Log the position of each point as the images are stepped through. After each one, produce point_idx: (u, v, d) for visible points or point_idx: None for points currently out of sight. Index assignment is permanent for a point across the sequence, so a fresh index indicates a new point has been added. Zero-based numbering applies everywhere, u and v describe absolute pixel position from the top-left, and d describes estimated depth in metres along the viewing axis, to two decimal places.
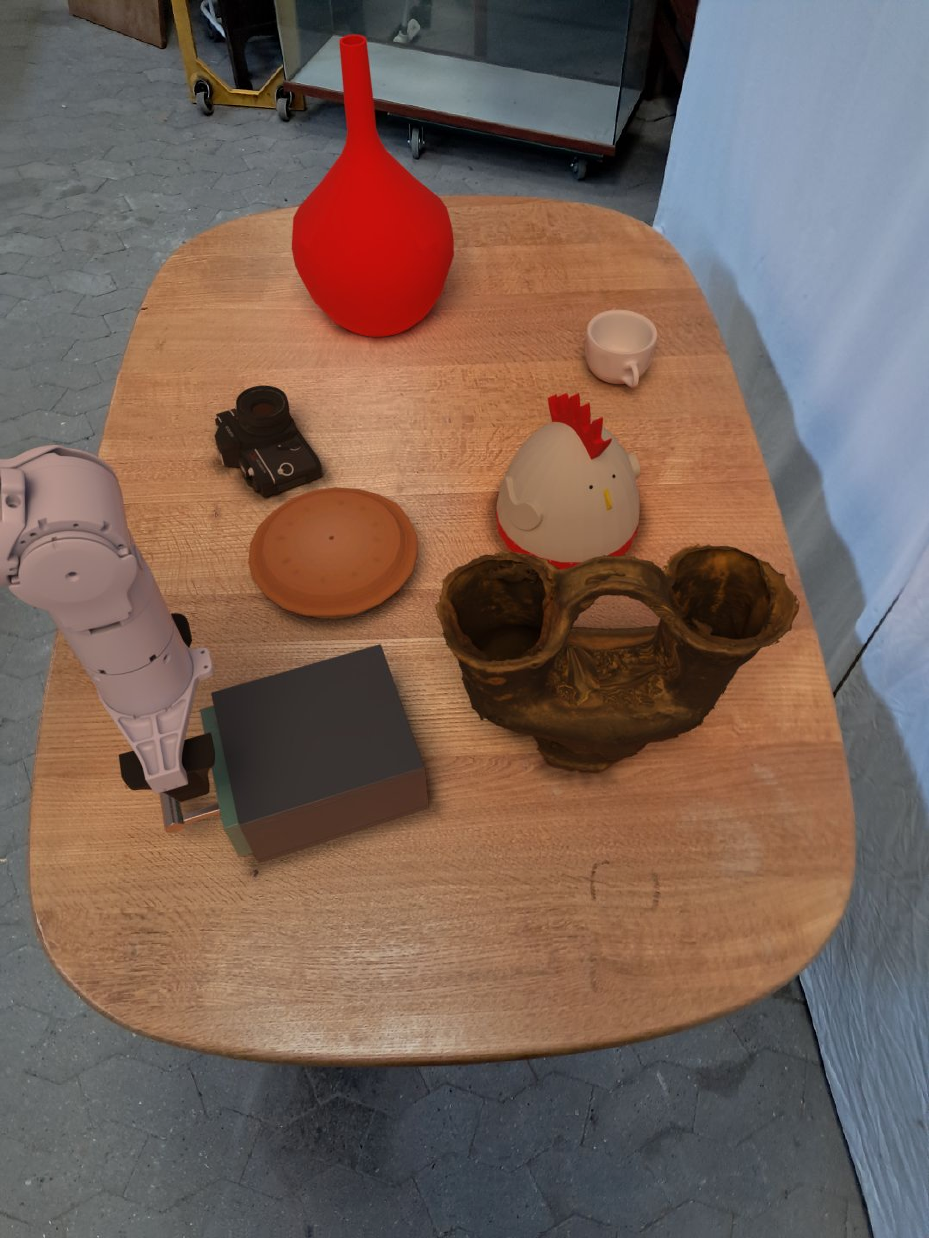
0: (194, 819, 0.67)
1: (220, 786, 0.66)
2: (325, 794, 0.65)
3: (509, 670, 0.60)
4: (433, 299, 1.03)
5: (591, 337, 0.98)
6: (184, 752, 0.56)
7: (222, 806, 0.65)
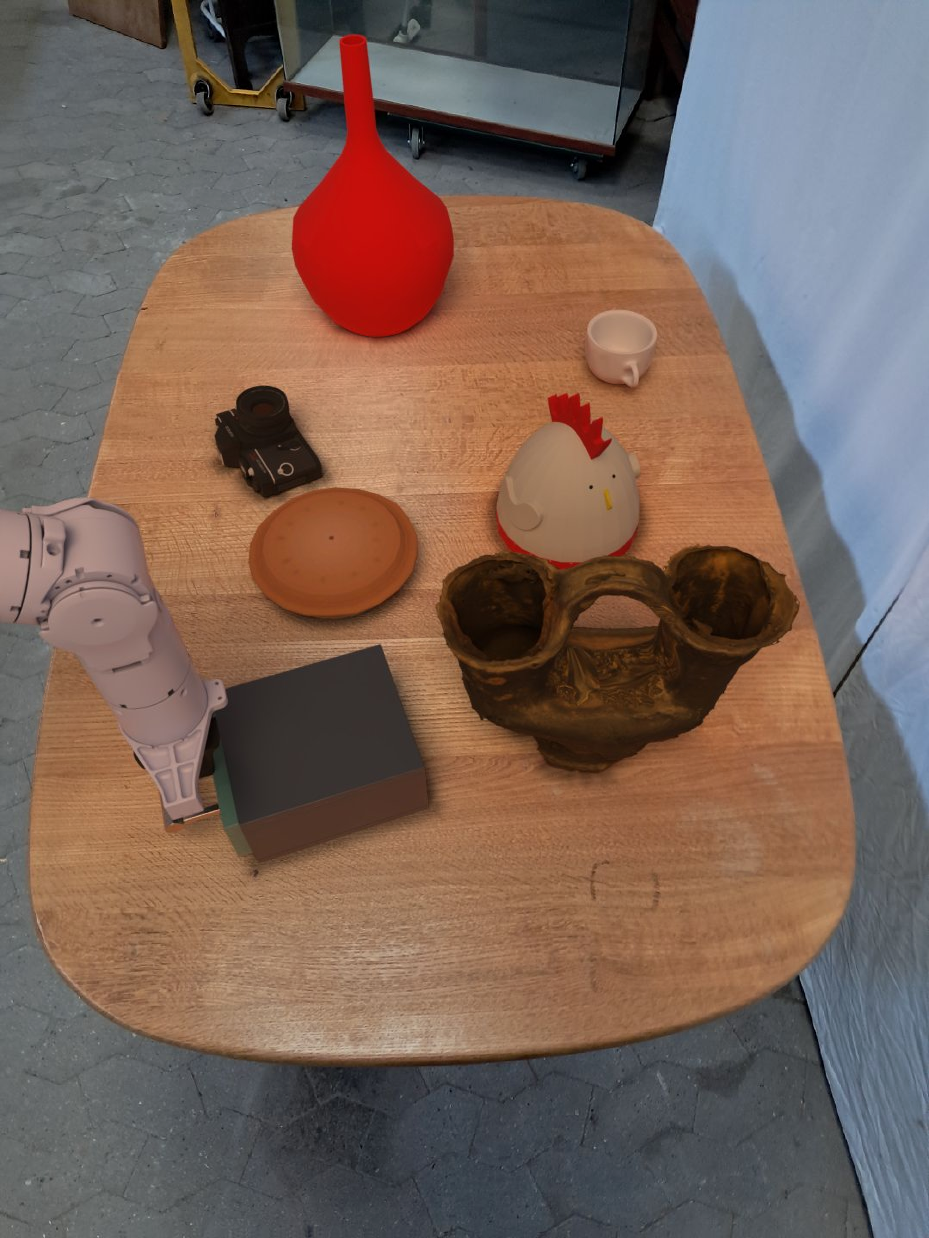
0: (194, 819, 0.67)
1: (220, 786, 0.66)
2: (325, 794, 0.65)
3: (509, 670, 0.60)
4: (433, 299, 1.03)
5: (591, 337, 0.98)
6: None
7: (222, 806, 0.65)
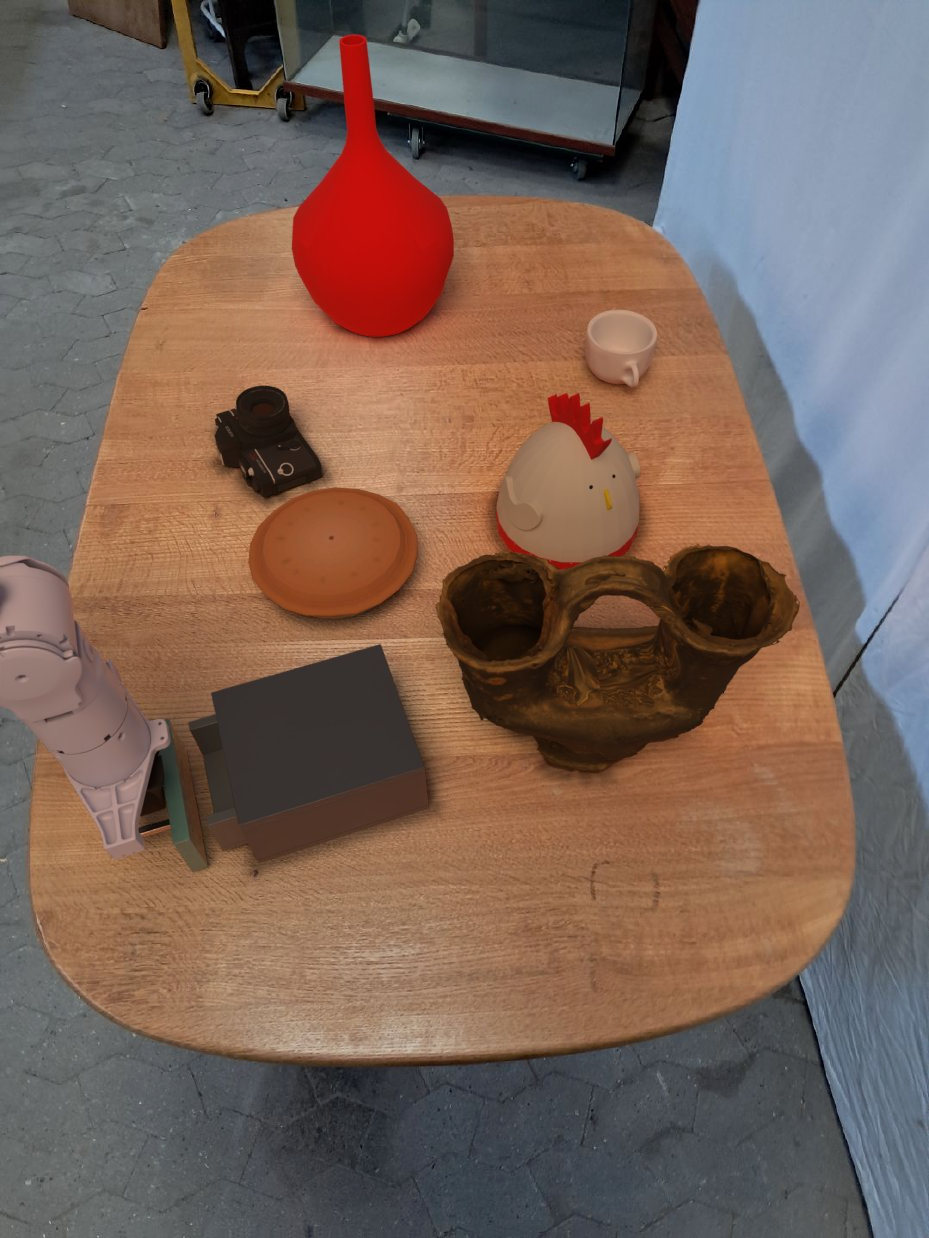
0: (146, 834, 0.66)
1: (171, 801, 0.65)
2: (325, 794, 0.65)
3: (509, 670, 0.60)
4: (433, 299, 1.03)
5: (591, 337, 0.98)
6: None
7: (172, 822, 0.64)
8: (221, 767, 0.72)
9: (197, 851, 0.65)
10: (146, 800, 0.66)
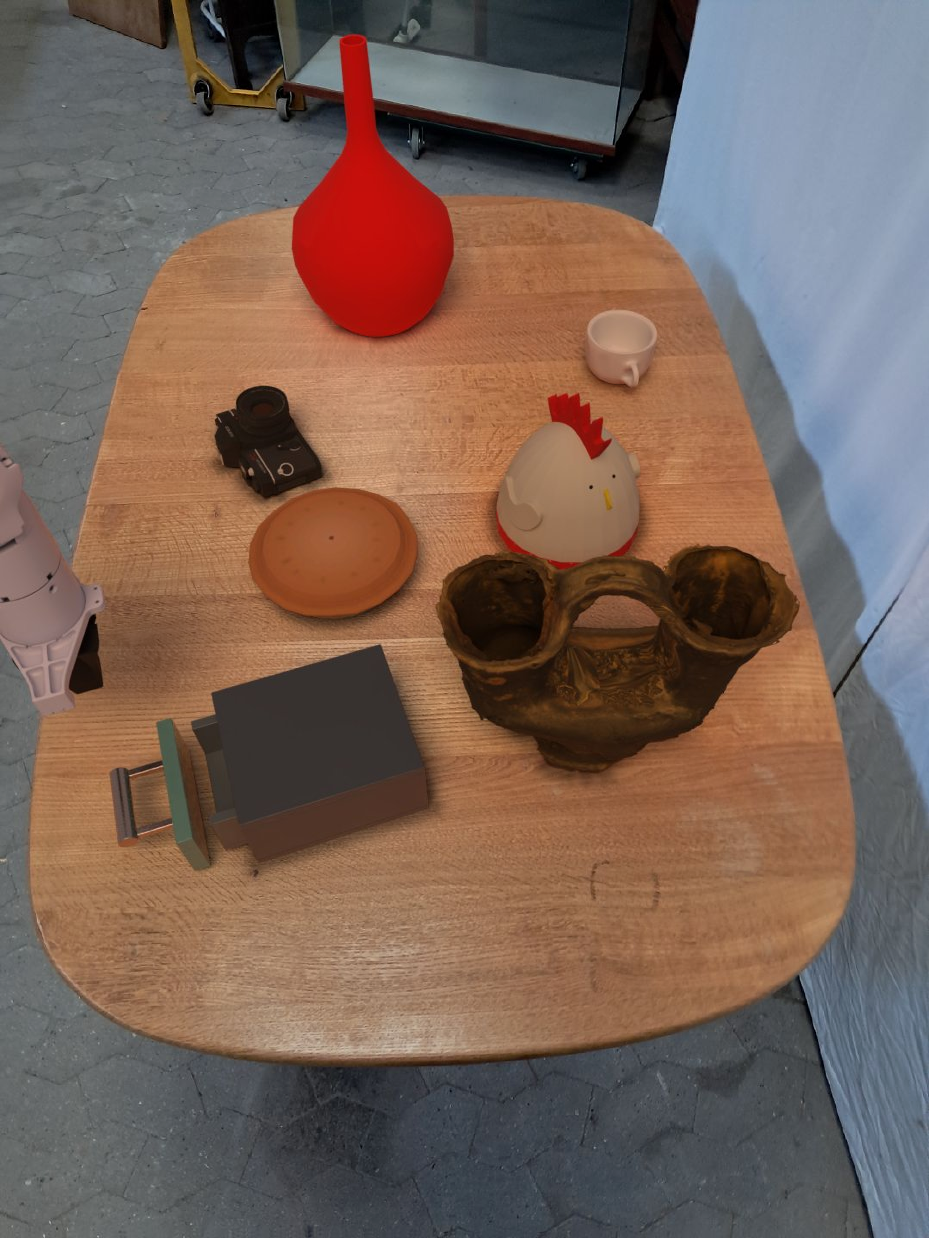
0: (148, 833, 0.66)
1: (174, 800, 0.65)
2: (325, 794, 0.65)
3: (509, 670, 0.60)
4: (433, 299, 1.03)
5: (591, 337, 0.98)
6: None
7: (175, 821, 0.64)
8: (223, 766, 0.72)
9: (200, 850, 0.65)
10: (82, 675, 0.65)
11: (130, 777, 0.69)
